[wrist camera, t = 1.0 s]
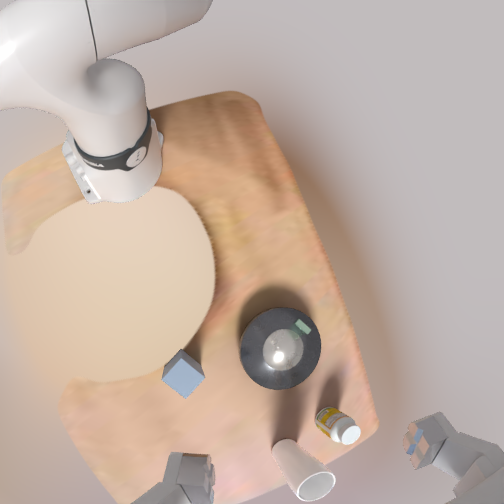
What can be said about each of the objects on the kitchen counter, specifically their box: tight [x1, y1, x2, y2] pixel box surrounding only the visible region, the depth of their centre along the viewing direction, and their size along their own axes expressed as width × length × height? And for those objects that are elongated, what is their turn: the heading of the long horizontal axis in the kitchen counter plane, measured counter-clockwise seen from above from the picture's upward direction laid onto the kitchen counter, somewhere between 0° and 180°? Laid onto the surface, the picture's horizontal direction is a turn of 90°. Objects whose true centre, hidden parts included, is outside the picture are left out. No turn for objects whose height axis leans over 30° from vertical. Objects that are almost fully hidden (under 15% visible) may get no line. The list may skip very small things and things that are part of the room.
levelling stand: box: [239, 308, 321, 390], centre depth 45 cm, size 14×14×5 cm
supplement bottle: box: [315, 407, 361, 445], centre depth 43 cm, size 5×5×10 cm
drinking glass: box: [272, 439, 335, 501], centre depth 37 cm, size 7×7×15 cm
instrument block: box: [162, 349, 205, 399], centre depth 39 cm, size 4×4×8 cm
